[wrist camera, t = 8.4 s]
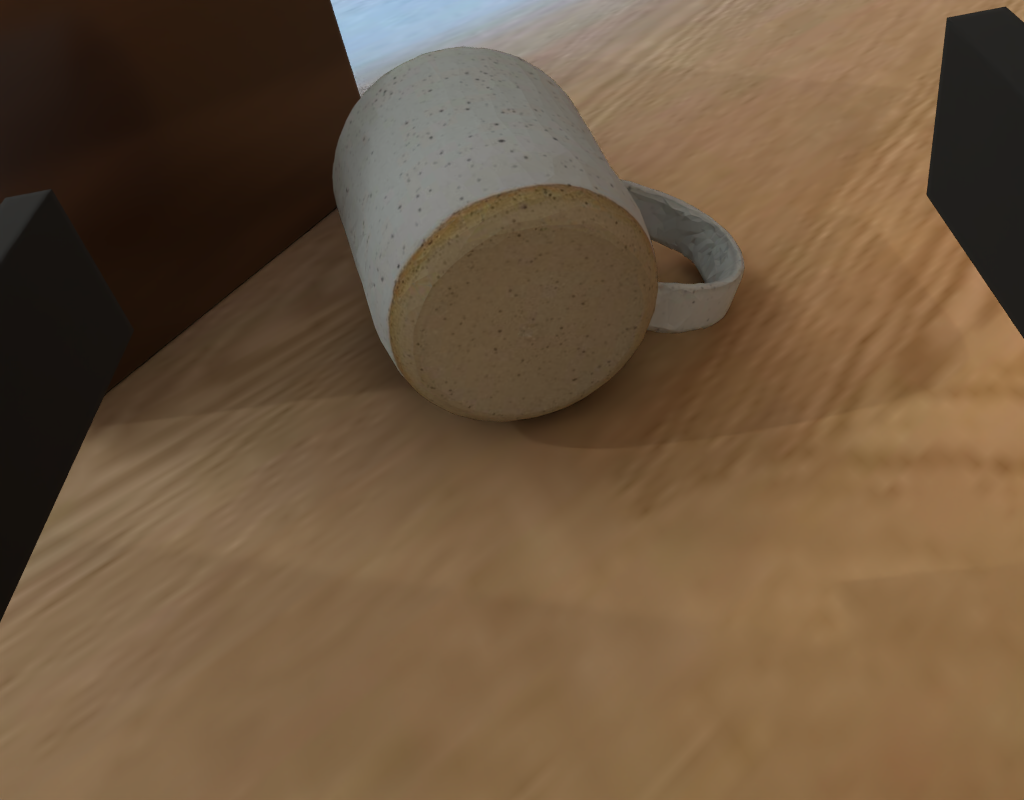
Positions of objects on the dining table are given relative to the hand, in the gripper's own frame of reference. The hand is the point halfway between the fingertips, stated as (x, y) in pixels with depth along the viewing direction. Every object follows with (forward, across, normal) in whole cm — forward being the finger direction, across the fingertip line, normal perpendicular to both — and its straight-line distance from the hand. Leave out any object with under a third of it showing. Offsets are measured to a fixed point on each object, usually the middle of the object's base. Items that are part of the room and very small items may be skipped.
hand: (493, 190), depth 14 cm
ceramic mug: (+10, 0, -10) cm, 14 cm away
